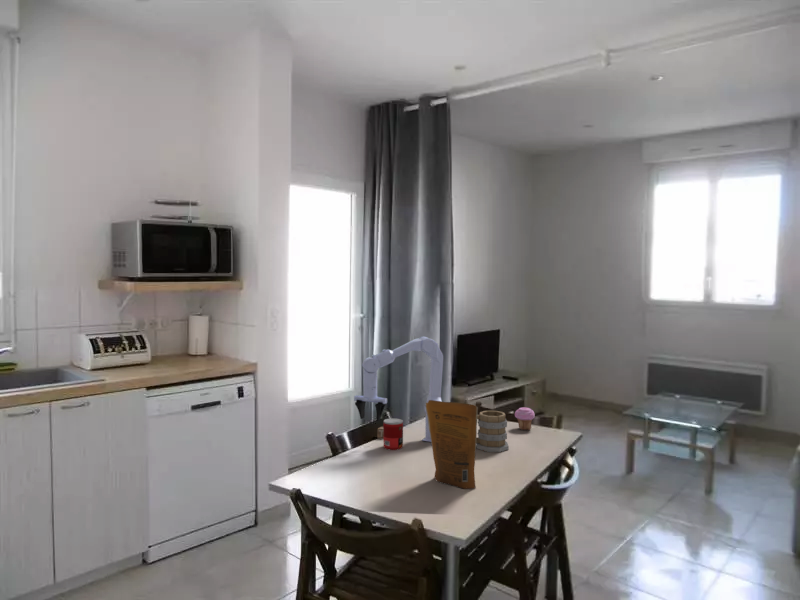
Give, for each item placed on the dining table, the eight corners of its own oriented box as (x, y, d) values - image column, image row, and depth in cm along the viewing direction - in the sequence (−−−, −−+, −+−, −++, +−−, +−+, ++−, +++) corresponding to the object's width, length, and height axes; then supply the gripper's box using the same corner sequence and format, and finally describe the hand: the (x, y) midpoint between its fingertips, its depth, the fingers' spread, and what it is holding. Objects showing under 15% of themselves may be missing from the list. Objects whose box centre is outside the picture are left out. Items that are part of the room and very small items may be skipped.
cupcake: (516, 431, 251) (516, 409, 250) (513, 426, 259) (513, 405, 259) (536, 431, 250) (536, 409, 250) (532, 426, 259) (532, 405, 259)
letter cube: (389, 436, 243) (389, 427, 243) (385, 439, 239) (385, 429, 239) (381, 435, 244) (381, 426, 244) (377, 437, 241) (377, 428, 241)
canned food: (402, 450, 223) (402, 423, 223) (382, 450, 223) (382, 422, 223) (403, 444, 231) (403, 418, 230) (383, 444, 231) (383, 418, 230)
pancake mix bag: (472, 493, 178) (472, 406, 177) (423, 480, 190) (424, 398, 188) (482, 487, 183) (483, 403, 182) (435, 474, 195) (435, 395, 194)
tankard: (506, 443, 232) (506, 407, 232) (509, 452, 220) (509, 415, 219) (458, 442, 234) (458, 406, 234) (458, 451, 222) (458, 413, 221)
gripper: (350, 386, 230) (350, 419, 231) (381, 389, 224) (381, 423, 224) (358, 384, 236) (358, 415, 237) (389, 386, 230) (389, 419, 231)
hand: (370, 419), depth 231 cm, fingers open, 7 cm apart
